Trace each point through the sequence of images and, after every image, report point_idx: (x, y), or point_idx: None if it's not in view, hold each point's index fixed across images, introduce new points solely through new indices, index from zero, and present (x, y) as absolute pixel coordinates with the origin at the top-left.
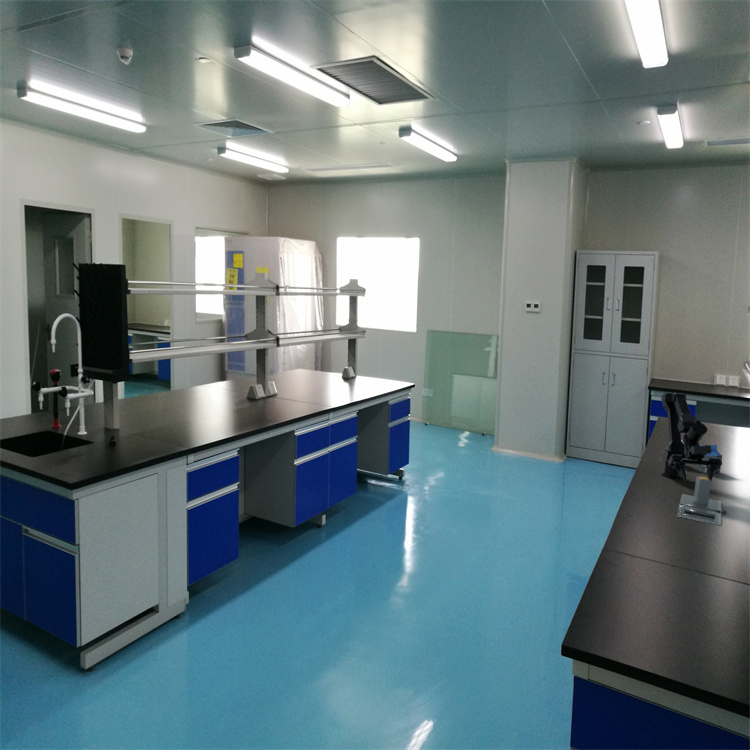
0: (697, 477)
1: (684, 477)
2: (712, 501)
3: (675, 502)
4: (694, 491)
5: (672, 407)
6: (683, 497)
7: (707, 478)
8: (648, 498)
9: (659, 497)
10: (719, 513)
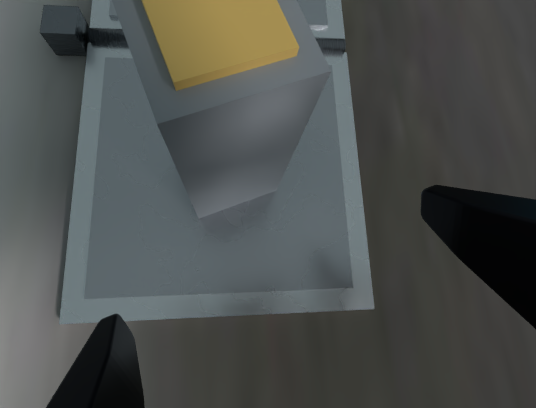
0: (309, 33)
1: (465, 192)
2: (134, 250)
3: (373, 96)
4: (287, 164)
5: None
6: (347, 220)
7: (154, 10)
8: (520, 77)
9: (477, 139)
10: (101, 9)
